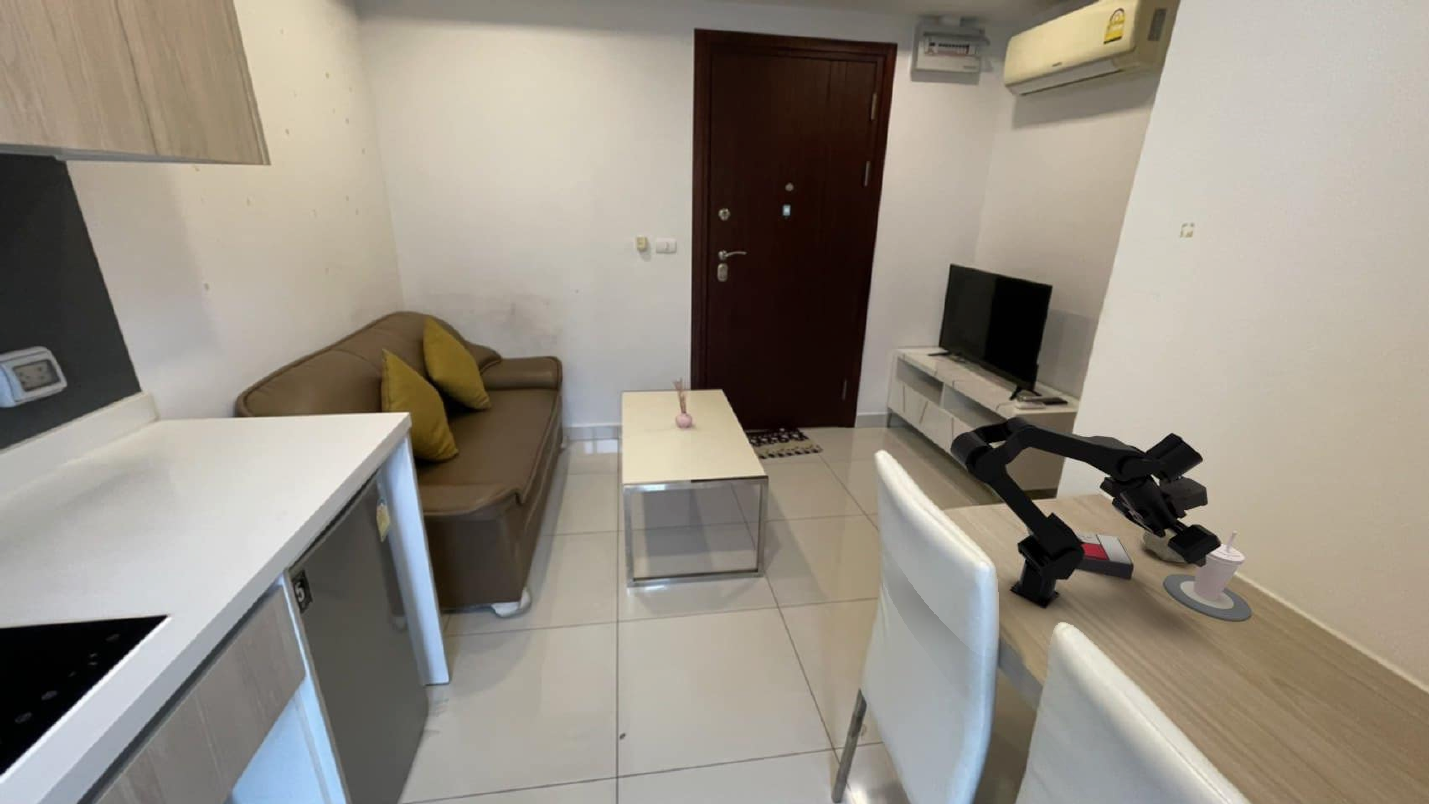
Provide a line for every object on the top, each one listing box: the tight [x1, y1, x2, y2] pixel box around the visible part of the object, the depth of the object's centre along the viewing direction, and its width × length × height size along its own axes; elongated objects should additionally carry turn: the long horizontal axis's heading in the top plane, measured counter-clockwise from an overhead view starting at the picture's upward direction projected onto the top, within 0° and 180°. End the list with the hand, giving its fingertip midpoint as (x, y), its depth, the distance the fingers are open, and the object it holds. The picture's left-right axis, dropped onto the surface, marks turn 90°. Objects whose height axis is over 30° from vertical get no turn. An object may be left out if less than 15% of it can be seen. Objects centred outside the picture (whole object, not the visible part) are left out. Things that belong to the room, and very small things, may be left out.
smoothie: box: [1193, 530, 1245, 600], centre depth 107 cm, size 6×6×14 cm
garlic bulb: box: [1142, 522, 1190, 563], centre depth 120 cm, size 9×8×10 cm
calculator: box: [1072, 529, 1135, 581], centre depth 120 cm, size 11×4×15 cm
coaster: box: [1162, 573, 1252, 622], centre depth 109 cm, size 13×13×1 cm
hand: (1182, 550), depth 105 cm, fingers open, 9 cm apart
